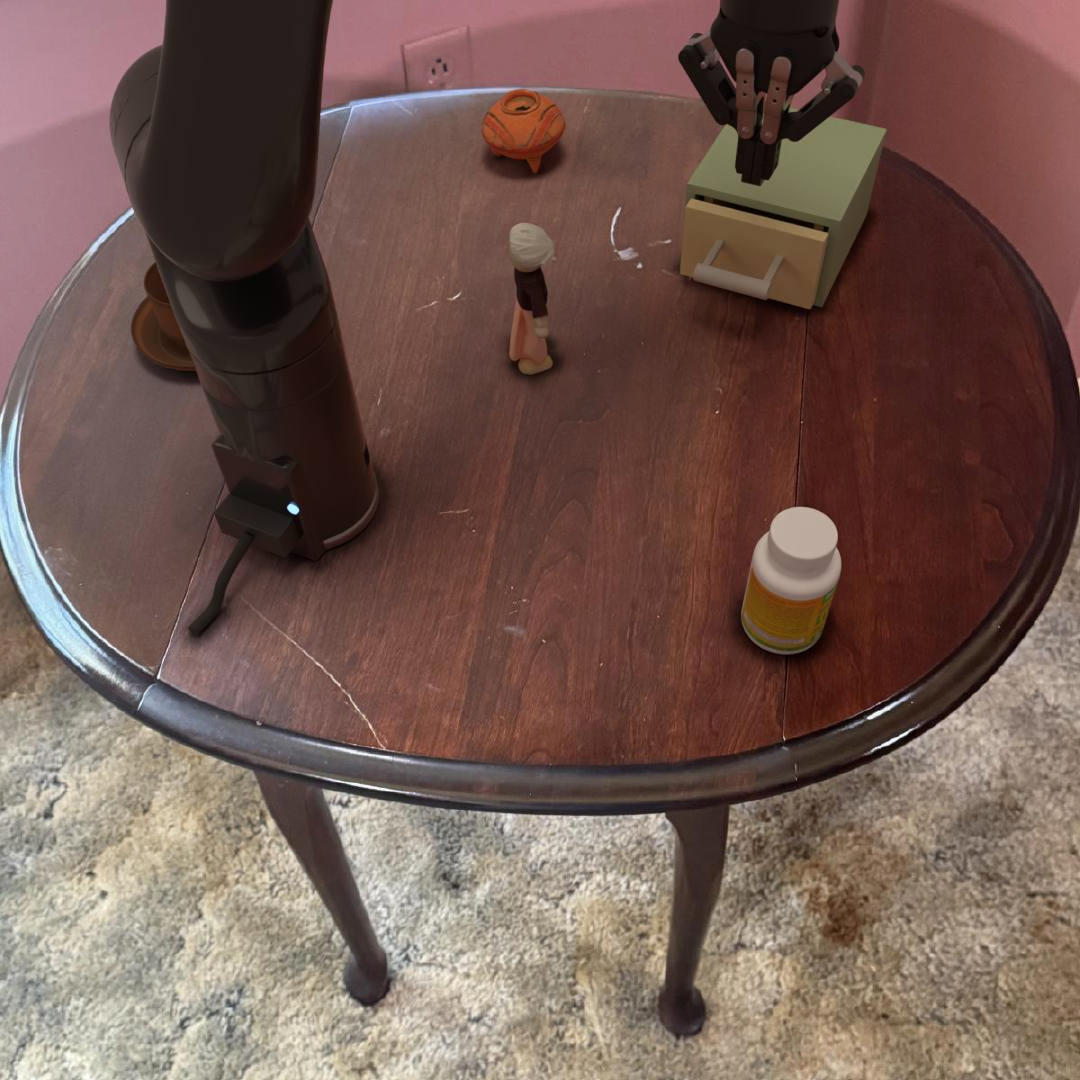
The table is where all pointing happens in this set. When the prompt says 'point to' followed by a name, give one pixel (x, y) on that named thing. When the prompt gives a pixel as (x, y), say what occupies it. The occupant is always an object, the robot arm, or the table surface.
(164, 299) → the cup and saucer
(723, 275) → the drawer
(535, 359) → the grandmother figurine
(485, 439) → the table surface
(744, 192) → the cabinet
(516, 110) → the pot
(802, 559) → the supplement bottle
